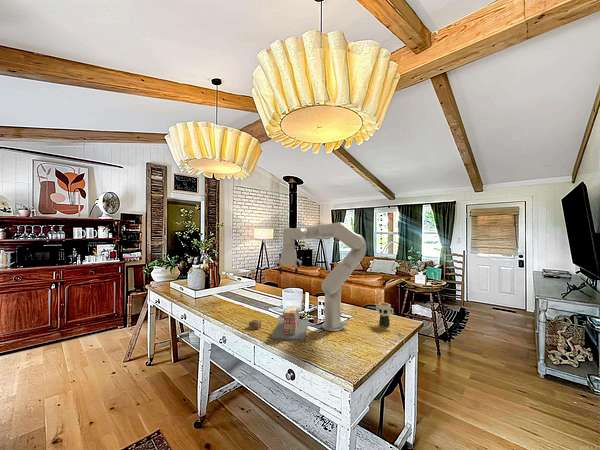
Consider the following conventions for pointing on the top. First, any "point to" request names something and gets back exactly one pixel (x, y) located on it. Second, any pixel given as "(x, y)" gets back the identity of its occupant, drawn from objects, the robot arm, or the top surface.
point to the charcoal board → (298, 335)
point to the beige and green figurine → (384, 313)
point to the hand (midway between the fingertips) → (288, 274)
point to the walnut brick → (254, 324)
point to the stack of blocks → (291, 320)
